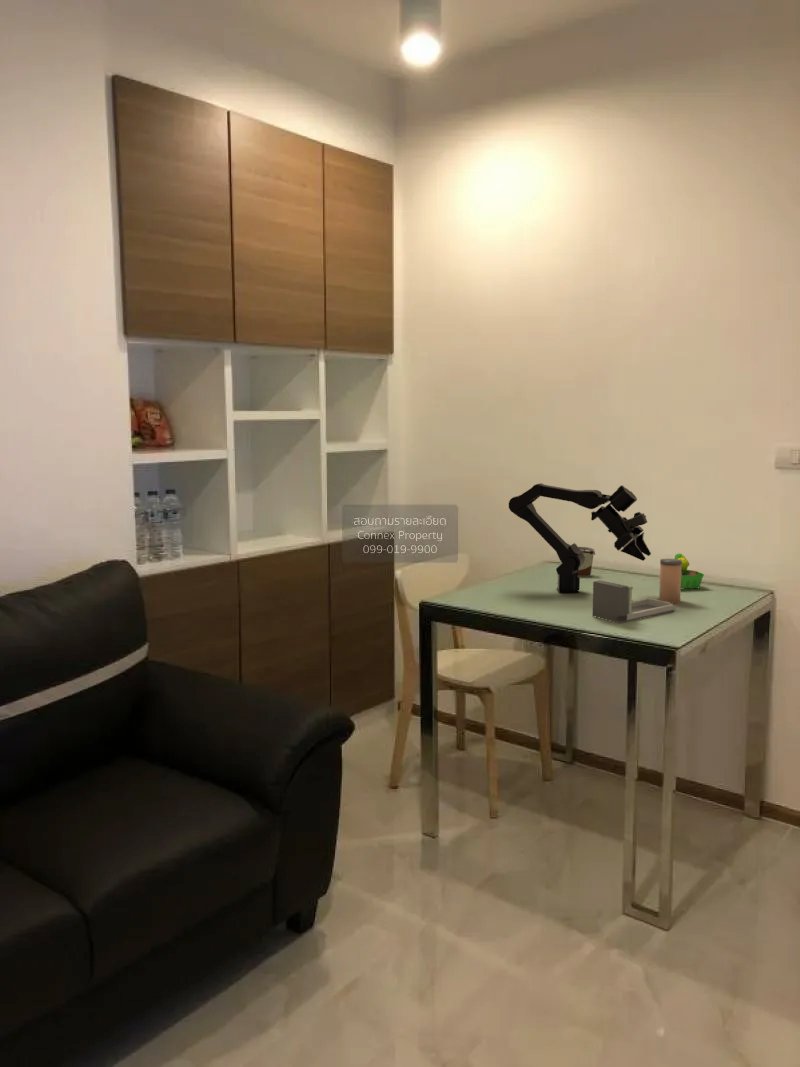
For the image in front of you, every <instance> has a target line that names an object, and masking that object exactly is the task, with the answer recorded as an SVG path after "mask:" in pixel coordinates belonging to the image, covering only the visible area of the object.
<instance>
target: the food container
mask: <svg viewBox="0 0 800 1067" xmlns="http://www.w3.org/2000/svg"><path fill="white" fill-rule="evenodd" d="M578 548H579V549H580V550H582V551H583V552H582V553H583V555H584V556H585V562H584V564H583V565H582V566H581V567H580V568H579V570H578V571H577V573H578V577H588V576H592V575H591V574H592V569H593V562H594V556H596V551H595V549H594V548H592V547H586V546H578Z"/></svg>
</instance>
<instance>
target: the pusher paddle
mask: <svg viewBox="0 0 800 1067" xmlns="http://www.w3.org/2000/svg"><path fill="white" fill-rule="evenodd" d="M611 583H615V584H618V583H617V582H611ZM619 584H620V585H623V584H621V583H619ZM624 585H625V584H624ZM625 586H628V602H627V614H628V613H631V607H632V601H633V599H632V597H633V589H634V588H633V586H631V585H625Z"/></svg>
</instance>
